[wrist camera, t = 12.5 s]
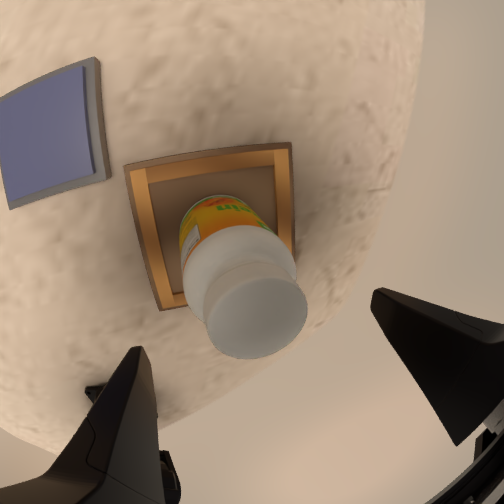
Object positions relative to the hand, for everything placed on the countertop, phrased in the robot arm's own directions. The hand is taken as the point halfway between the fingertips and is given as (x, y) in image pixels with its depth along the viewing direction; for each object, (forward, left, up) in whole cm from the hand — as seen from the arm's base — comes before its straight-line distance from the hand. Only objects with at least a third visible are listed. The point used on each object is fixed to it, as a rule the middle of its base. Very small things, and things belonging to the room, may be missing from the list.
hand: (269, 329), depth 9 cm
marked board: (0, 0, -11) cm, 11 cm away
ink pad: (+9, +11, -11) cm, 18 cm away
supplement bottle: (0, 0, -11) cm, 11 cm away
